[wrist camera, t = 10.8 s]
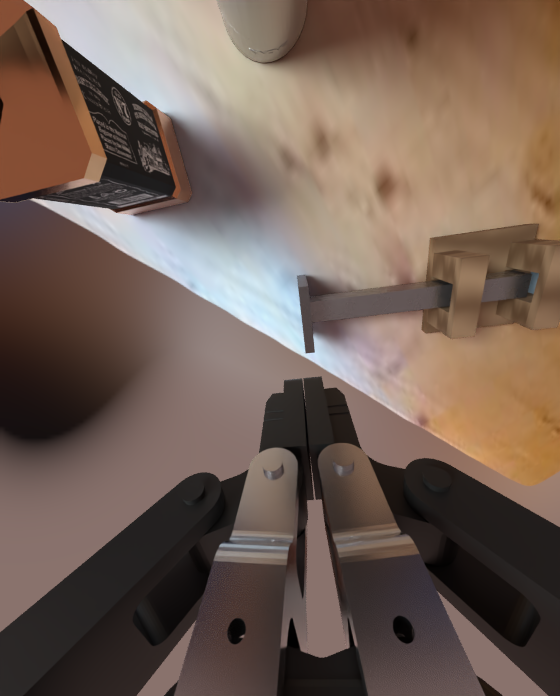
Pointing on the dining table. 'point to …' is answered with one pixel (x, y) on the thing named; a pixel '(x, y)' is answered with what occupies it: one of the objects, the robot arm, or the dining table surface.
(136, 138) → the whiskey bottle
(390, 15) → the dining table surface
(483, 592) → the robot arm
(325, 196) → the dining table surface
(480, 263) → the bearing stand
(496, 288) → the drawbar
